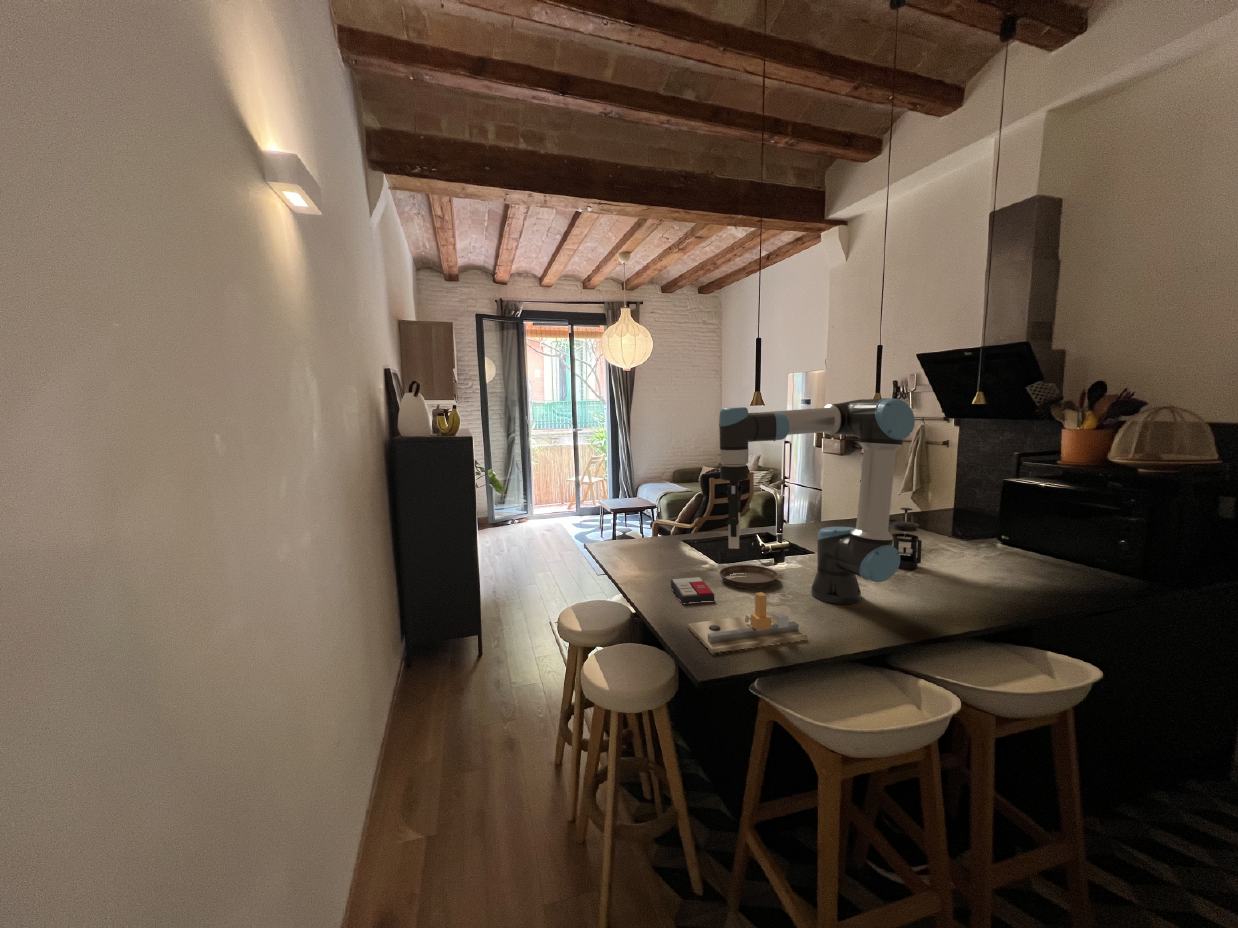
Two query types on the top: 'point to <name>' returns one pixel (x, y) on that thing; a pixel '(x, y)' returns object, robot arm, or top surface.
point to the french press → (905, 560)
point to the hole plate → (733, 624)
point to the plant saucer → (749, 576)
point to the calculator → (692, 590)
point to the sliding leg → (759, 614)
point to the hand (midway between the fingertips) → (734, 541)
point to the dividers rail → (778, 627)
